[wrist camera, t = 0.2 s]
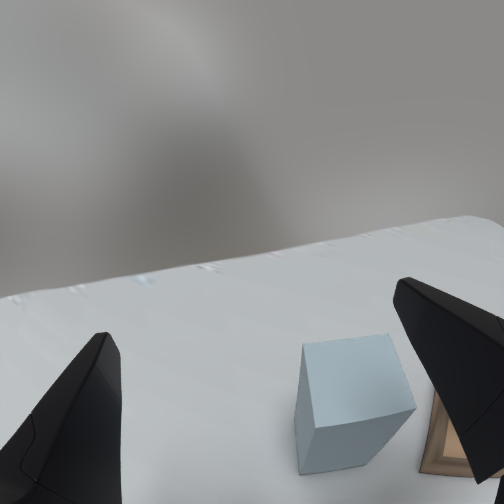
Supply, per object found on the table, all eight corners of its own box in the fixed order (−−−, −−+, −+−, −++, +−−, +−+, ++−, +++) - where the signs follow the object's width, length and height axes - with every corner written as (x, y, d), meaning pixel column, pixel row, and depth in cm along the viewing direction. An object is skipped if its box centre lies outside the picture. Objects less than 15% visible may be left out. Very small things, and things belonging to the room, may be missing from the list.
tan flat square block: (504, 477, 11) (532, 459, 9) (419, 472, 15) (442, 456, 12) (508, 394, 17) (529, 369, 15) (436, 382, 21) (453, 356, 19)
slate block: (365, 464, 16) (416, 407, 11) (299, 475, 16) (315, 427, 11) (354, 411, 21) (388, 333, 15) (294, 419, 21) (302, 343, 15)
